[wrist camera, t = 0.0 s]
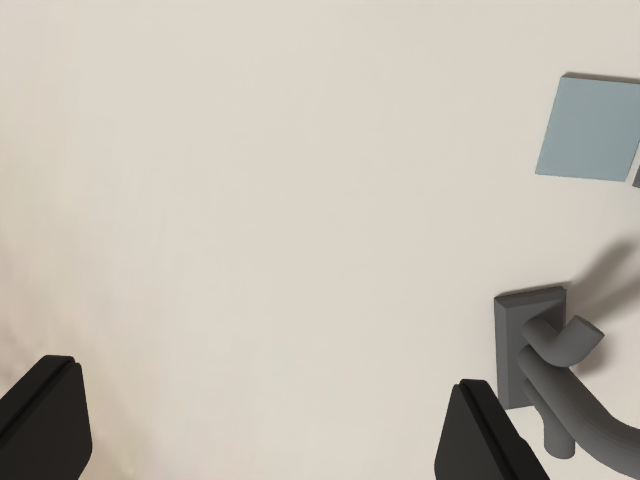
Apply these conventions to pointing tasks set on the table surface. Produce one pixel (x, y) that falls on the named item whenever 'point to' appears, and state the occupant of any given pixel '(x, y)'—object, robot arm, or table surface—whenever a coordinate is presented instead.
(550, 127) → the rubber pad
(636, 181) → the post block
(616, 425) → the faucet
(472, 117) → the table surface
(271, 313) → the table surface
